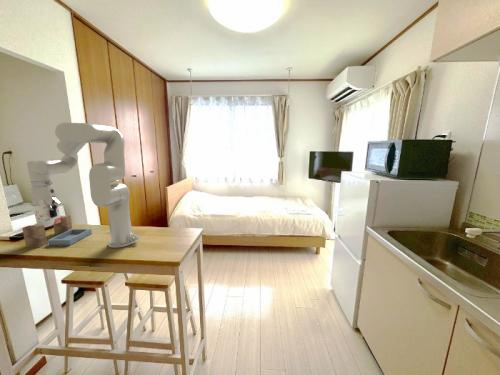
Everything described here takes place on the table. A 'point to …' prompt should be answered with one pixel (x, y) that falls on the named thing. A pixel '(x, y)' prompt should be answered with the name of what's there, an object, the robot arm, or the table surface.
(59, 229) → the right walnut block
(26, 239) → the left walnut block
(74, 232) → the tray
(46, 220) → the ink cartridge box
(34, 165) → the robot arm
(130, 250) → the table surface
